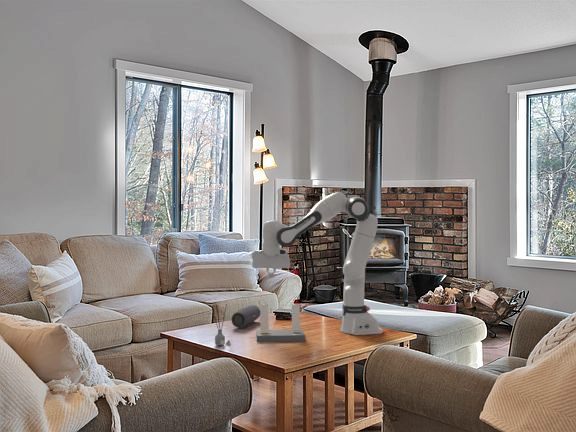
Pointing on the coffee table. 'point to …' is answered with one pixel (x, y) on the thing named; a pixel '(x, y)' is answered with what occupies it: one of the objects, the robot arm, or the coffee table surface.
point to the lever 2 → (295, 317)
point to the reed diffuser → (220, 332)
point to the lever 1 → (264, 317)
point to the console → (280, 336)
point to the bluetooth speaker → (245, 316)
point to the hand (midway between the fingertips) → (271, 276)
